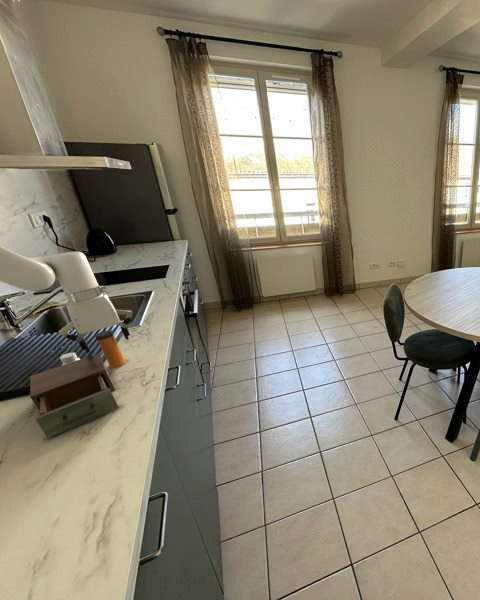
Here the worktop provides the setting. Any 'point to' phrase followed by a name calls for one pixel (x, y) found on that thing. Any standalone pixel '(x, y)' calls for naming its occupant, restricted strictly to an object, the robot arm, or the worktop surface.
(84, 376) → the cabinet
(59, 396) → the drawer
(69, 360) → the pill bottle
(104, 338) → the spice jar
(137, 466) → the worktop surface
